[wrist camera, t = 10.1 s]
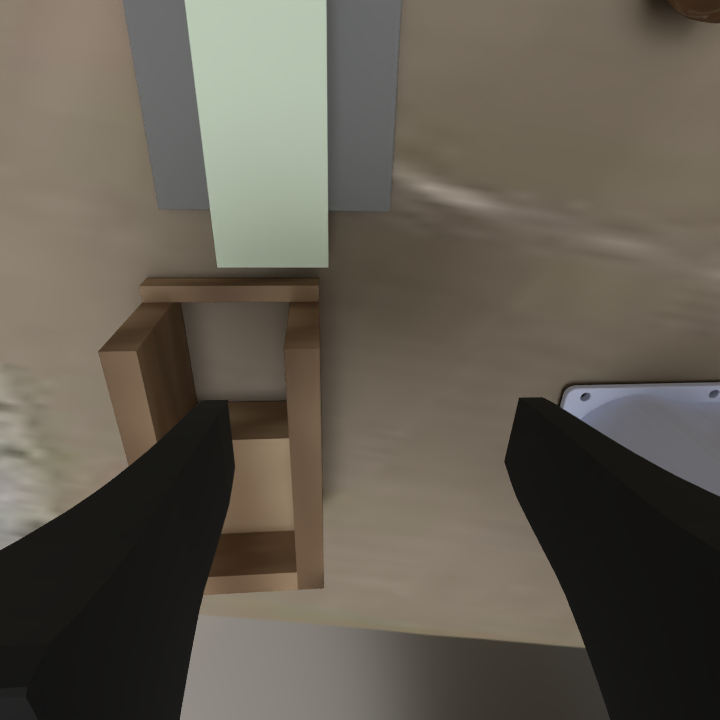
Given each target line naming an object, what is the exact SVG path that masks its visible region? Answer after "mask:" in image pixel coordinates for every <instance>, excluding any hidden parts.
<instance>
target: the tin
mask: <svg viewBox="0 0 720 720" xmlns="http://www.w3.org/2000/svg"><path fill="white" fill-rule="evenodd" d="M668 1H669V2H670V4H671V5H672V7H673V8H674V9H675V10H676V11H677V12H678V13H680V14H681V15H683V16H685V17H687V18H690V19H693V20H697V21H701V22H708V23H720V0H668Z"/></svg>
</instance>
